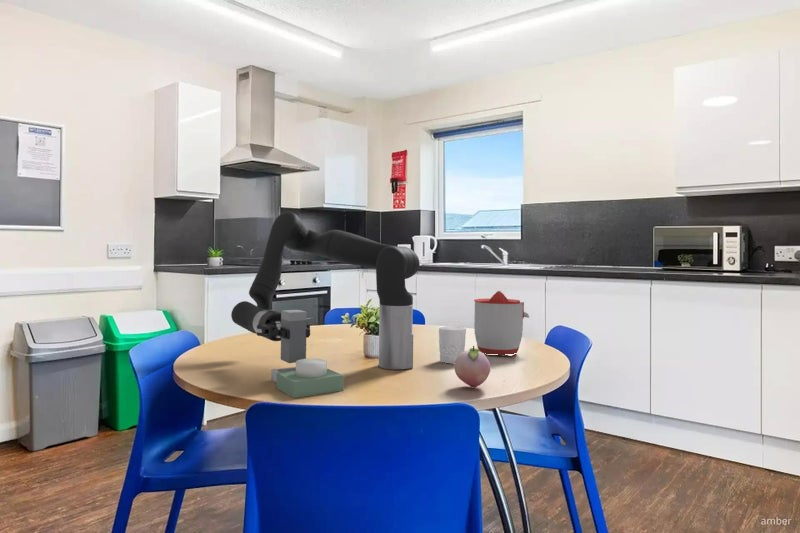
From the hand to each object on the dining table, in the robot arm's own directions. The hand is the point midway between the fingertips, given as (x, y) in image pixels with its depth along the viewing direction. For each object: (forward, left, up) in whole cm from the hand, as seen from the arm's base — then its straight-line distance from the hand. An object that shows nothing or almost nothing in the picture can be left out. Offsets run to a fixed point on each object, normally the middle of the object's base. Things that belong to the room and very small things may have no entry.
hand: (298, 334), depth 126 cm
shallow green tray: (-1, +2, -12) cm, 12 cm away
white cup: (-42, -24, -12) cm, 50 cm away
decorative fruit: (-41, +6, -12) cm, 43 cm away
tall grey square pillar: (+1, -2, -7) cm, 7 cm away
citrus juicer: (-60, -36, -12) cm, 71 cm away
